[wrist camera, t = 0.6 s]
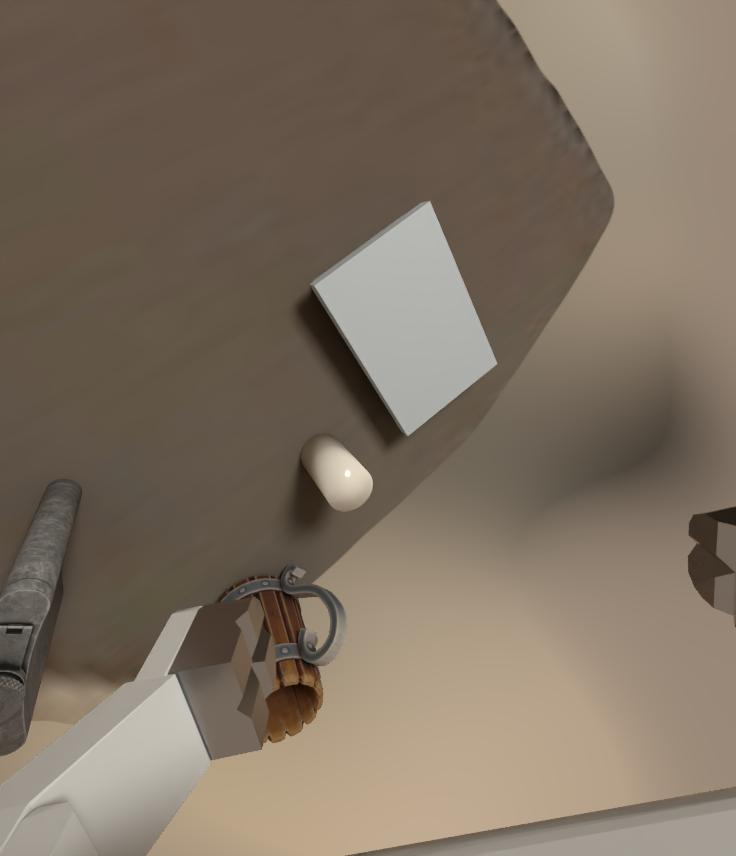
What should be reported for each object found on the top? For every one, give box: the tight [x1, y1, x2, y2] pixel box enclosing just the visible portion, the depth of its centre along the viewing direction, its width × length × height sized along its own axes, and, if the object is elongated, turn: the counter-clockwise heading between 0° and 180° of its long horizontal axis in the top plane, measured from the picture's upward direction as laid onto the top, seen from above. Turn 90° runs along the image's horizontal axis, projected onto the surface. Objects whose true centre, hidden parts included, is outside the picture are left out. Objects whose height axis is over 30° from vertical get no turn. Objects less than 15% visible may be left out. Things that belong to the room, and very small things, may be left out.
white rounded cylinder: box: [301, 434, 373, 511], centre depth 48 cm, size 5×5×9 cm
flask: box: [0, 479, 82, 756], centre depth 36 cm, size 4×14×18 cm, turn 159°
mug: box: [217, 564, 347, 743], centre depth 50 cm, size 16×11×15 cm
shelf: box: [309, 201, 497, 436], centre depth 49 cm, size 20×14×4 cm
